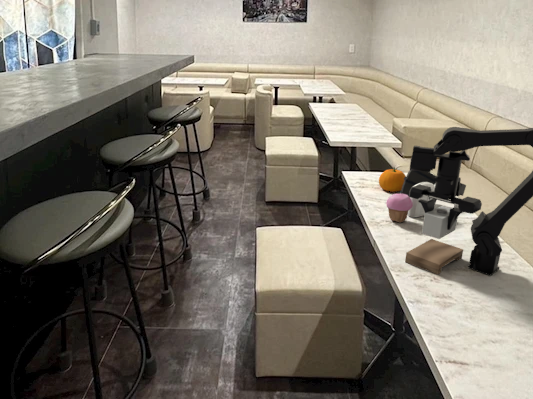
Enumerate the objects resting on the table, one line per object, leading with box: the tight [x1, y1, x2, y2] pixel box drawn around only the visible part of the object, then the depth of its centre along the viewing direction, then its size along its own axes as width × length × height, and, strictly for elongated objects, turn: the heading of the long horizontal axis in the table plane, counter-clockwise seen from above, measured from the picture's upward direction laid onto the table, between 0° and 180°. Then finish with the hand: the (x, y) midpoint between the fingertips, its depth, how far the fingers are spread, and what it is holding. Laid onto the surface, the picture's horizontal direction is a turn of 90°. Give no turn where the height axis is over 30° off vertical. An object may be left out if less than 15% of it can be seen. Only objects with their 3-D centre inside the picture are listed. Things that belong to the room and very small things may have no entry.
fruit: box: [378, 166, 407, 193], centre depth 199 cm, size 12×12×10 cm
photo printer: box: [407, 182, 435, 218], centre depth 171 cm, size 10×4×12 cm, turn 123°
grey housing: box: [421, 205, 459, 240], centre depth 133 cm, size 10×5×7 cm, turn 134°
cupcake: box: [385, 193, 413, 223], centre depth 164 cm, size 9×9×10 cm
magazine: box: [399, 169, 437, 196], centre depth 185 cm, size 4×13×15 cm, turn 82°
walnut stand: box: [405, 238, 464, 275], centre depth 136 cm, size 10×15×3 cm, turn 135°
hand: (439, 226), depth 133 cm, fingers closed on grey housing, 5 cm apart
